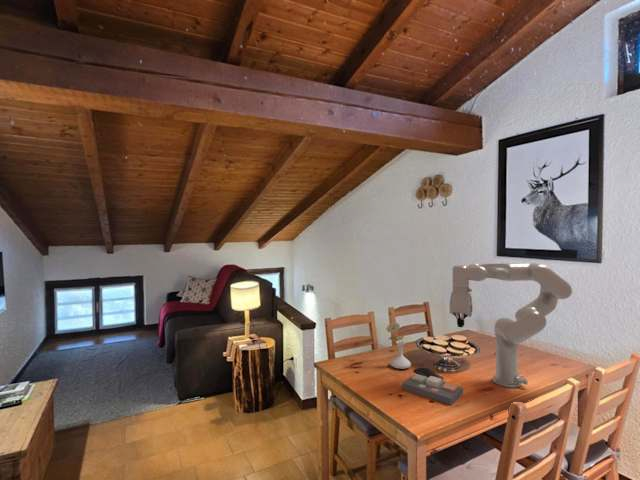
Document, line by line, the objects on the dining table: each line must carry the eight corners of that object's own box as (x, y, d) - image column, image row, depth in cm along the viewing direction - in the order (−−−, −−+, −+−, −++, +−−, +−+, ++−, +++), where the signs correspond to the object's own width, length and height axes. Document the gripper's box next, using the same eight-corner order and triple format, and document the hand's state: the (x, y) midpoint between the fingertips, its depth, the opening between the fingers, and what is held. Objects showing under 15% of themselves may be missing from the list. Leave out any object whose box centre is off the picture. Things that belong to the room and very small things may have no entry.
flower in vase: (409, 362, 196) (408, 319, 195) (412, 371, 185) (412, 324, 184) (385, 362, 197) (385, 319, 197) (387, 370, 186) (387, 324, 185)
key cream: (441, 385, 163) (441, 378, 163) (437, 389, 159) (437, 382, 159) (431, 381, 167) (431, 375, 167) (426, 385, 163) (426, 379, 163)
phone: (425, 367, 188) (443, 378, 174) (425, 369, 188) (443, 380, 174) (412, 369, 185) (431, 380, 171) (412, 371, 185) (431, 382, 171)
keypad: (462, 393, 159) (462, 386, 159) (451, 405, 149) (451, 398, 148) (416, 379, 174) (416, 373, 174) (402, 389, 164) (402, 382, 164)
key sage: (426, 383, 168) (426, 376, 168) (421, 386, 164) (421, 380, 164) (416, 379, 172) (416, 373, 172) (411, 383, 168) (411, 377, 168)
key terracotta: (457, 392, 158) (457, 386, 158) (453, 396, 154) (453, 390, 154) (446, 388, 162) (446, 382, 162) (441, 393, 158) (441, 386, 158)
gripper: (478, 290, 170) (478, 327, 170) (448, 287, 180) (448, 322, 180) (473, 293, 164) (473, 331, 165) (442, 289, 174) (442, 325, 175)
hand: (460, 326), depth 173 cm, fingers closed
